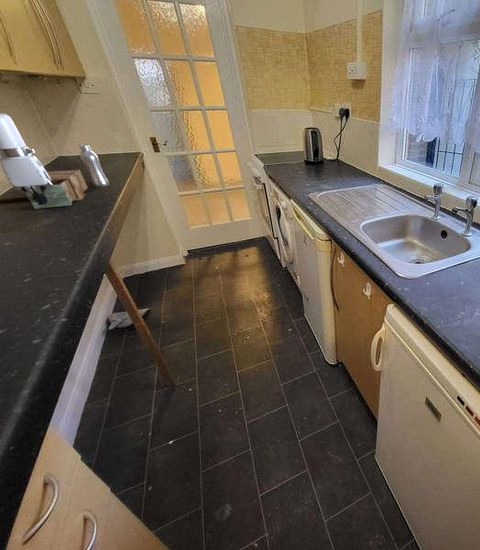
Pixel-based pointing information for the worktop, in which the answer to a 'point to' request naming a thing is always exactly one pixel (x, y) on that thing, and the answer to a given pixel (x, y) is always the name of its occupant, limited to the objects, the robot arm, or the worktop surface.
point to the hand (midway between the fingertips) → (43, 203)
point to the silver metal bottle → (93, 166)
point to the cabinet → (72, 181)
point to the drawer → (56, 194)
